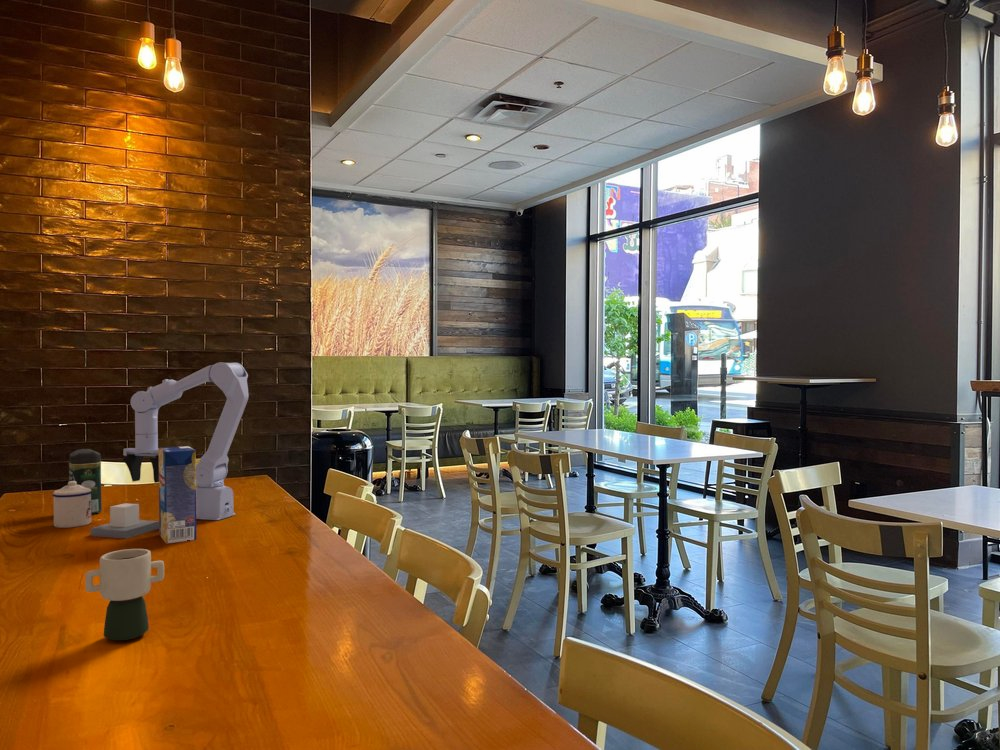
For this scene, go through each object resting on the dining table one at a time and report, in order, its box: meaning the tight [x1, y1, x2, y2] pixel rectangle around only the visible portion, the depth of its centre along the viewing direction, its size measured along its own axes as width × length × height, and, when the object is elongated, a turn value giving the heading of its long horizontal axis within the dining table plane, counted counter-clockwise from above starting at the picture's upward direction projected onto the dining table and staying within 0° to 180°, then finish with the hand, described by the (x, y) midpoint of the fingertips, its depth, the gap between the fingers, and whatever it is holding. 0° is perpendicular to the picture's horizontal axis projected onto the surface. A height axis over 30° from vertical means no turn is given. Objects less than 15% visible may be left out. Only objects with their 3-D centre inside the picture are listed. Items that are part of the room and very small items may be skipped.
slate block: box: [90, 519, 159, 539], centre depth 180 cm, size 11×11×2 cm
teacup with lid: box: [52, 480, 92, 529], centre depth 190 cm, size 12×9×12 cm
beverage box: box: [158, 445, 197, 544], centre depth 174 cm, size 7×11×22 cm, turn 33°
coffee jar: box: [68, 448, 103, 516], centre depth 204 cm, size 10×8×19 cm
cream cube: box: [109, 502, 140, 527], centre depth 180 cm, size 5×5×5 cm
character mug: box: [85, 548, 165, 641], centre depth 110 cm, size 11×7×13 cm, turn 125°
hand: (147, 481), depth 199 cm, fingers open, 7 cm apart
